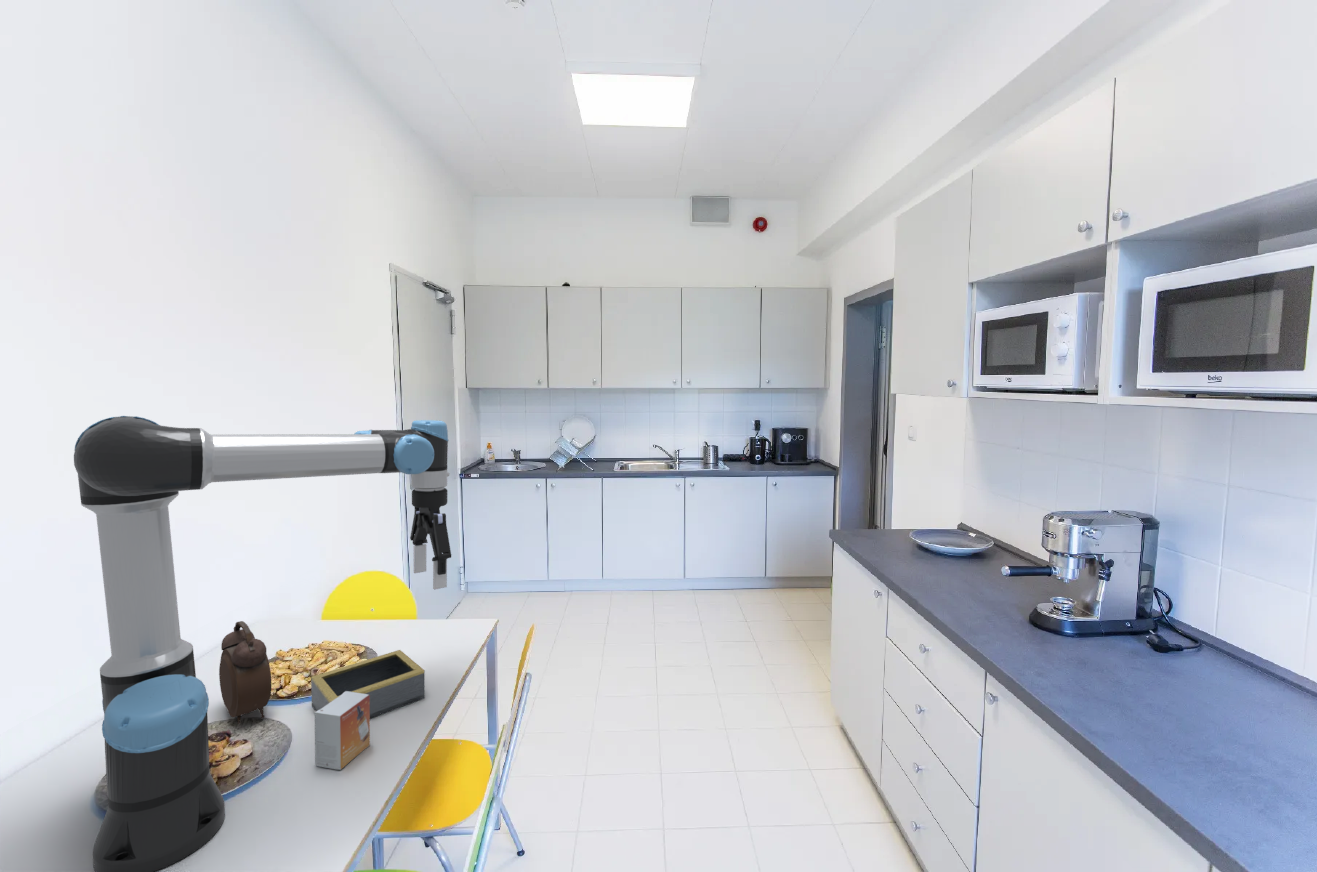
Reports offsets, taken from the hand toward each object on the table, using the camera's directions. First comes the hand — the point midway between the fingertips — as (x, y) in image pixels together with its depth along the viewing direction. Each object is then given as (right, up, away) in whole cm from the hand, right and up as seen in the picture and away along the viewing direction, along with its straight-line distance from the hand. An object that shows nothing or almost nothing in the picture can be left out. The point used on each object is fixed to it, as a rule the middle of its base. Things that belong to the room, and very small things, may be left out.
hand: (429, 579), depth 126 cm
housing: (-12, -27, -3) cm, 30 cm away
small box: (-8, -29, -21) cm, 36 cm away
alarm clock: (-36, -27, -8) cm, 45 cm away
